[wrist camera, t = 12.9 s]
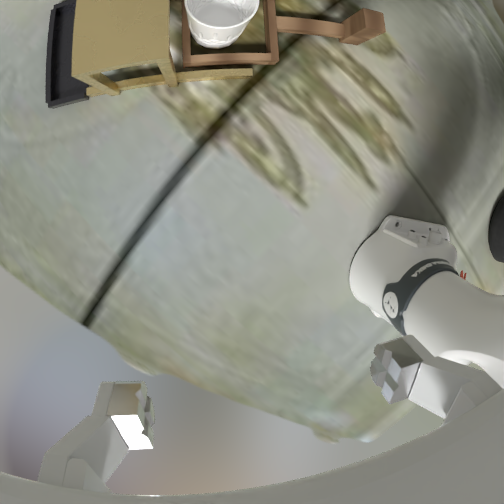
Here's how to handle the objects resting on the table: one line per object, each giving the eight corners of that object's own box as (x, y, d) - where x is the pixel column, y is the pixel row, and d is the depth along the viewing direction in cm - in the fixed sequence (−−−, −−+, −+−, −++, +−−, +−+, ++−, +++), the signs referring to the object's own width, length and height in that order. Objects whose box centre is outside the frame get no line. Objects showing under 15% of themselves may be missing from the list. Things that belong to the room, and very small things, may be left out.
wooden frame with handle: (352, 4, 34) (378, -14, 26) (359, 71, 38) (389, 62, 31) (182, -6, 30) (181, -33, 23) (183, 67, 34) (180, 51, 27)
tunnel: (244, -20, 31) (266, -75, 17) (250, 81, 37) (278, 53, 23) (56, 8, 27) (12, -29, 13) (51, 110, 33) (-7, 103, 19)
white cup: (199, -1, 31) (201, -35, 22) (252, 15, 33) (269, -16, 24) (177, 44, 33) (172, 17, 24) (233, 60, 35) (244, 37, 26)
